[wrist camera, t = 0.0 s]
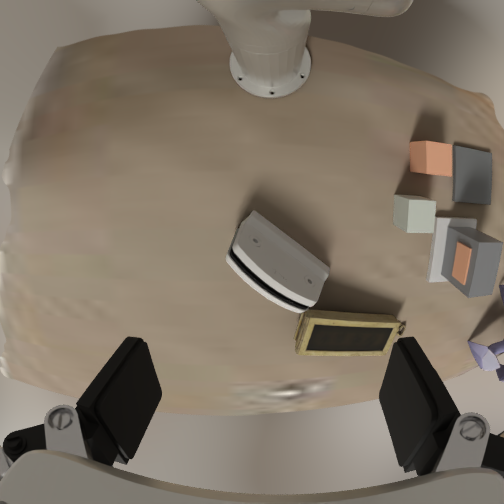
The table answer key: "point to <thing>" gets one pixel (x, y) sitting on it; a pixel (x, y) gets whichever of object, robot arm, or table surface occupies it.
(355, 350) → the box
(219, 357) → the table surface
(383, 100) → the table surface
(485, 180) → the mat
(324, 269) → the white curved block
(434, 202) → the grey block
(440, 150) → the terracotta block
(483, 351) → the robotic device
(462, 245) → the mounted unit
